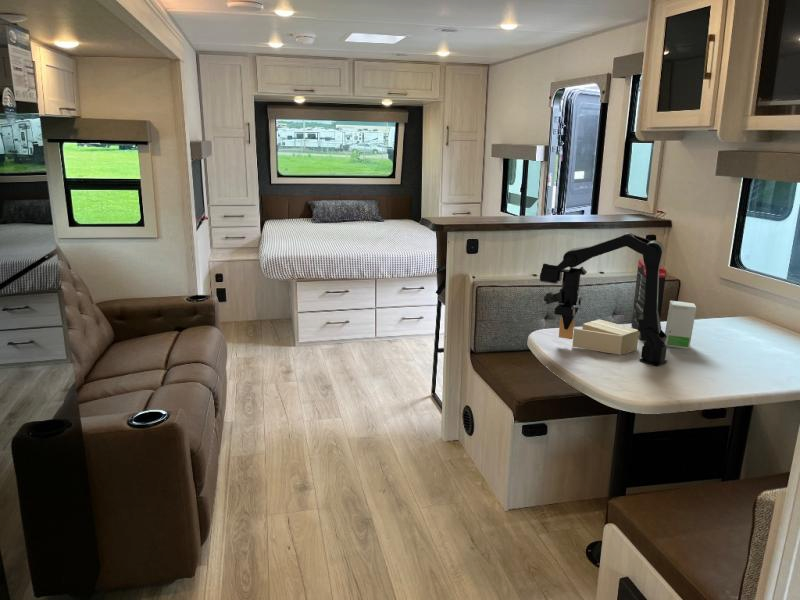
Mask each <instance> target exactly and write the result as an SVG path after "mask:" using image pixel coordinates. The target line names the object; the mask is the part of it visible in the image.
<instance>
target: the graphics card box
mask: <svg viewBox="0 0 800 600" xmlns="http://www.w3.org/2000/svg"><path fill="white" fill-rule="evenodd" d="M636 271H637V272H636V278H635V279H636V280H635V289H634V300H633V309H632V317H631V328H633V329H637V330H639V318H640V316H641V315H644V314H645V292H646V268H645V265H644V260H643V259H638V263H637V270H636ZM666 277H667V269H665V267H663V266H661V265H660V269H659V290H658V314H659V318H660V320H661V318H662V310H663V303H664V302H663V301H664V293H665V286H666ZM638 339H639V340H641V341H645V340H644V339H643V338H642V337H641V335H640V331H639V337H638Z"/></svg>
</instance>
